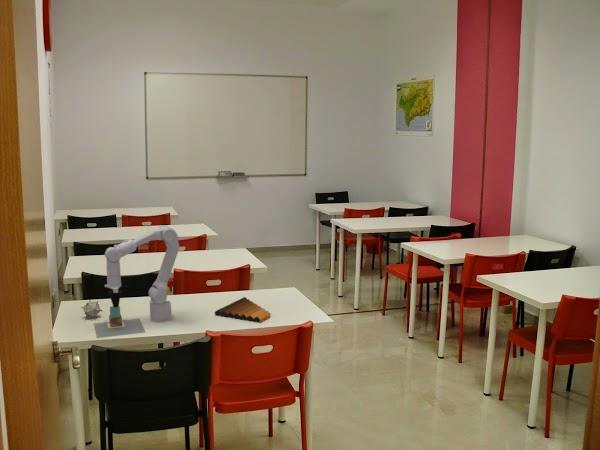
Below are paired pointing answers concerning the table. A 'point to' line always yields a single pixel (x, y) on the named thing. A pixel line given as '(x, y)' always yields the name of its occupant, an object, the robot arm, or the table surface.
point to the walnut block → (115, 321)
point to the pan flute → (244, 311)
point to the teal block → (114, 312)
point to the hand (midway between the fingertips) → (115, 304)
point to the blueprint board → (119, 328)
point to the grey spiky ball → (91, 309)
